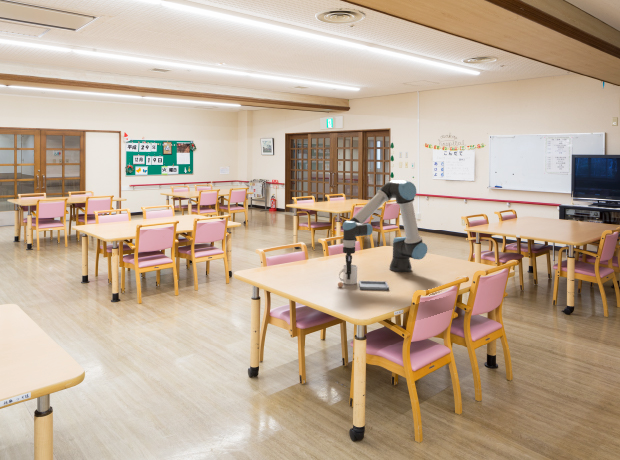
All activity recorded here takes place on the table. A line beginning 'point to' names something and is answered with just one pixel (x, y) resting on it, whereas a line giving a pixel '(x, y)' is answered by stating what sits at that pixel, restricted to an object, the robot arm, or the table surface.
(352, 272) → the mug
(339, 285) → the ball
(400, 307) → the table surface
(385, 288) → the tray
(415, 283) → the table surface
